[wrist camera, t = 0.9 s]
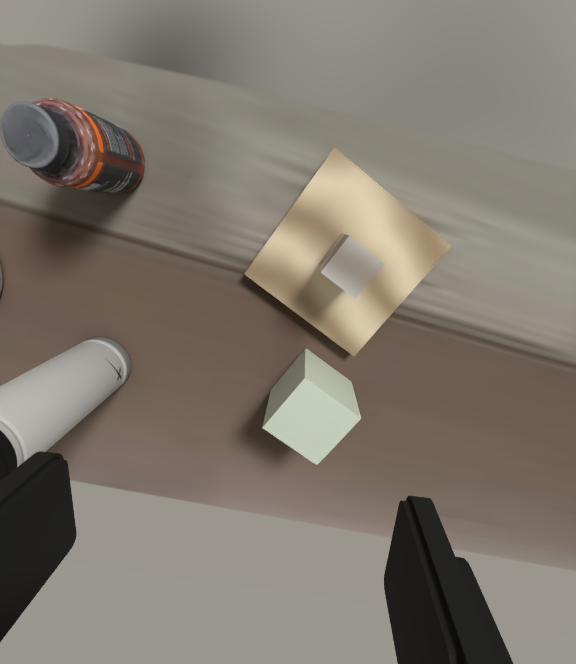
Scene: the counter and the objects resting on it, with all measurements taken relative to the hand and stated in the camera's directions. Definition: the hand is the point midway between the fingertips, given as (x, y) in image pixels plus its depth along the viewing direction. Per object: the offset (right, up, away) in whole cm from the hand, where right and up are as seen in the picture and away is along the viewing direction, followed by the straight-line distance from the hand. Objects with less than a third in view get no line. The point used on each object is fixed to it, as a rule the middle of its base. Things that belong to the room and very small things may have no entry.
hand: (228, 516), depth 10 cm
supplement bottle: (-15, +22, +25) cm, 36 cm away
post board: (+7, +12, +26) cm, 30 cm away
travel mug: (-19, +2, +31) cm, 36 cm away
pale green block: (+4, -1, +30) cm, 31 cm away
